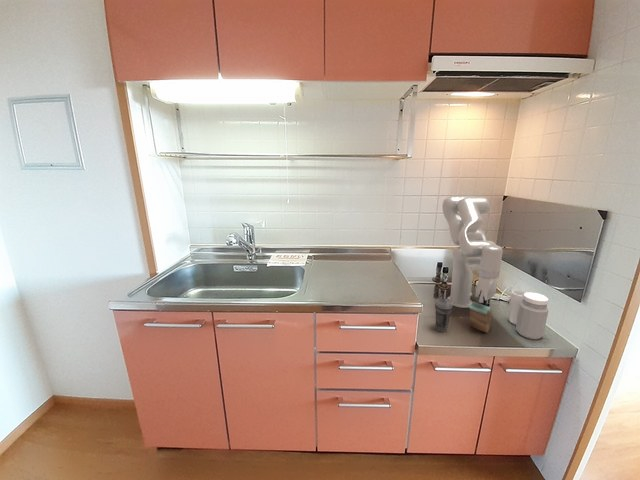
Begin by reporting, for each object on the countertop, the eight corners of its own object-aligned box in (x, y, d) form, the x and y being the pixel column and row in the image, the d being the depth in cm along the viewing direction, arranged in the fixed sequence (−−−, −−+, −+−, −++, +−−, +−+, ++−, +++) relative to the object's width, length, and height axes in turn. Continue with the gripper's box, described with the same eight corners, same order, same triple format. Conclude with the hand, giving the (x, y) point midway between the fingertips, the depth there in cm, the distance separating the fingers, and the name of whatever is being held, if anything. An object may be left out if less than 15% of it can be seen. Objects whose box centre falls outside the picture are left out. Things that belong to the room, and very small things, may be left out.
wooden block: (475, 320, 128) (473, 301, 123) (491, 327, 123) (490, 307, 118) (470, 326, 127) (469, 306, 121) (487, 332, 121) (486, 313, 116)
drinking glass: (514, 317, 133) (518, 288, 129) (528, 324, 126) (533, 294, 123) (503, 320, 131) (508, 291, 127) (517, 327, 124) (522, 297, 121)
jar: (549, 338, 116) (557, 300, 111) (529, 342, 114) (537, 303, 110) (527, 326, 125) (534, 290, 121) (509, 329, 123) (515, 292, 119)
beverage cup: (449, 326, 127) (453, 286, 122) (450, 334, 121) (455, 293, 115) (432, 323, 130) (435, 284, 125) (433, 331, 123) (436, 291, 118)
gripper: (487, 267, 126) (482, 303, 130) (472, 275, 117) (467, 313, 122) (505, 271, 120) (500, 309, 124) (491, 280, 111) (485, 320, 116)
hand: (484, 311), depth 123 cm, fingers closed
